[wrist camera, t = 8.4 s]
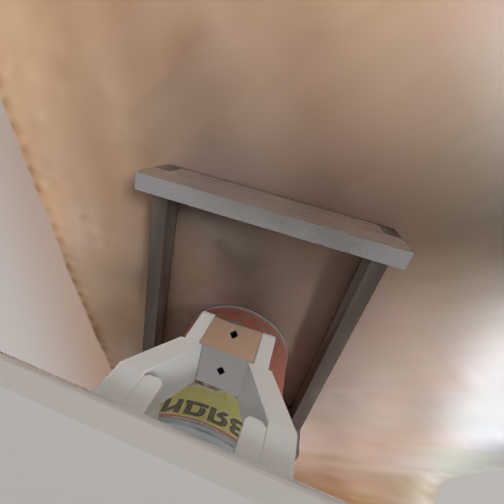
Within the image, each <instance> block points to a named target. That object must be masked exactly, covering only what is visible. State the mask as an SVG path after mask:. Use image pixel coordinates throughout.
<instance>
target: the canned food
mask: <svg viewBox="0 0 504 504" xmlns="http://www.w3.org/2000/svg"><path fill="white" fill-rule="evenodd" d="M203 311H207V312H210V313H212V314H215V315H218V316H220V317H223V318H225V319H228V320H230V321H233V322H235V323H238V324H241V325H244V326H246V327H249V328H252V329H255V330H257V331H260V332H263V333H266V334H269V335H272V336H275V338H276V340H275V344H274V348H273V352H272V356H271V360H270V364H269V368H268V370H269V371H272V373H273V376H274V378H275V381H276V383H277V386H278V388H279V390H280V393H281V395H282V396H283V388H284V379H285V371H286V366H287V362H288V349H287V345H286V343H285V340H284V338H283V336H282V335H281V333H280V332H279V330H278V329H277V328H276V327H275V326H274V325H273V324H272V323H271V322H270V321H269V320H267V319H266V318H265V317H263V316H261V315H260V314H258V313H256V312H254V311H252V310H249V309H246V308H243V307H239V306H231V305H220V306H214V307H210V308H207V309H205V310H203ZM203 311H201V312H200V313H198V314H197V315H196V316H195V317H194V318H193V319H192V320H191V322H190V323H189V325H188V327H187V329H186V331H185V333H184V334H183V336H182V337H184V338H185V336H186V335H187V333H188V332H189V330H190V329H191V328H192V326H193V325H194V323H195V322H196V320H197V319H198V317H199V316H200V315H201V313H202V312H203ZM237 397H238V396H235V395H233V394H231V393H228V392H226V391H224V390H222V389H219V388H217V387H215V386H212V385H209V384H207V383H204V382H201V381H198V380H196V379H195V381H194V382H192V383H191V384H189V385H188V386H186V387H185V388H183V389H182V390H180V391H179V392H177V393H176V394H174V395H173V396H171V397H170V398H168V399H167V400H166V401H164V402H163V403H161V404H160V408H159V416H158V420H159V421H161V422H163V423H166V424H168V425H170V426H173V427H175V428H177V429H179V430H182V431H184V432H186V433H189V434H191V435H193V436H196V437H198V438H200V439H202V440H205V441H207V442H209V443H212V444H214V445H216V446H219V447H221V448H223V449H225V450H228V451H230V452H233V449H234V447H235V444H236V441H237V439H238V436H239V433H240V431H241V428H242V425H243V424H242V419H241V414H240V409H239V403H238V398H237Z"/></svg>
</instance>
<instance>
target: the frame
mask: <svg viewBox="0 0 504 504" xmlns="http://www.w3.org/2000/svg"><path fill="white" fill-rule="evenodd" d="M135 189H136V190H139V191H142V192H146V193H149V194H152V195H153V208H152V223H151V237H150V252H149V266H148V281H147V296H146V310H145V325H144V339H143V352H144V351H146V350H149V349H151V348H154V347H156V346H159V345H161V344H162V342H163V333H164V324H165V315H166V306H167V297H168V289H169V280H170V271H171V262H172V253H173V244H174V235H175V226H176V217H177V208H178V202H179V203H182V204H186V205H189V206H192V207H196V208H199V209H202V210H206V211H209V212H212V213H216V214H219V215H222V216H226V217H229V218H232V219H236V220H239V221H242V222H246V223H249V224H252V225H256V226H259V227H262V228H266V229H269V230H272V231H276V232H279V233H282V234H286V235H289V236H292V237H296V238H299V239H302V240H306V241H309V242H312V243H316V244H319V245H322V246H326V247H329V248H332V249H336V250H339V251H342V252H346V253H349V254H352V255H356V256H359V257H362V260H361V262H360V264H359V266H358V269H357V271H356V273H355V275H354V277H353V279H352V281H351V283H350V285H349V287H348V289H347V292H346V294H345V296H344V298H343V300H342V302H341V304H340V306H339V308H338V310H337V312H336V315H335V317H334V319H333V321H332V323H331V325H330V327H329V329H328V331H327V333H326V335H325V338H324V340H323V342H322V344H321V346H320V348H319V350H318V352H317V354H316V356H315V358H314V361H313V363H312V365H311V367H310V369H309V371H308V373H307V375H306V377H305V379H304V381H303V384H302V386H301V388H300V390H299V392H298V394H297V396H296V398H295V400H294V402H293V404H292V407H291V409H290V408H287V407H286V408H287V410H288V413H289V415H290V418H291V420H292V422H293V425H294V427H295V430H296V432H297V446H296V456H295V461H296V459H297V458H298V456H299V439H300V429H301V427H302V425H303V423H304V421H305V420H306V418H307V416H308V414H309V412H310V410H311V408H312V406H313V405H314V403H315V401H316V399H317V397H318V395H319V393H320V391H321V390H322V388H323V386H324V384H325V382H326V380H327V378H328V376H329V375H330V373H331V371H332V369H333V367H334V365H335V363H336V362H337V360H338V358H339V356H340V354H341V352H342V350H343V348H344V347H345V345H346V343H347V341H348V339H349V337H350V335H351V333H352V332H353V330H354V328H355V326H356V324H357V322H358V320H359V318H360V317H361V315H362V313H363V311H364V309H365V307H366V305H367V304H368V302H369V300H370V298H371V296H372V294H373V292H374V290H375V289H376V287H377V285H378V283H379V281H380V279H381V277H382V275H383V274H384V272H385V270H386V268H387V266H388V265H389V266H392V267H395V268H399V269H402V270H405V269H406V267H407V266H408V264H409V262H410V260H411V259H412V257H413V255H414V253H413V251H412V250H411V249H410V248H409V247H408V245H407V244H406V243H405V242H404V241H403V239H402V238H401V237H400V236H399V235H398V233H397V232H396V231H395V230H394V229H391V228H388V227H384V226H381V225H377V224H374V223H370V222H367V221H363V220H360V219H356V218H353V217H349V216H346V215H343V214H339V213H336V212H332V211H329V210H325V209H322V208H318V207H315V206H311V205H308V204H304V203H301V202H297V201H294V200H290V199H287V198H283V197H280V196H277V195H273V194H270V193H266V192H263V191H259V190H256V189H252V188H249V187H245V186H242V185H238V184H235V183H231V182H228V181H224V180H221V179H218V178H214V177H211V176H207V175H204V174H200V173H197V172H193V171H190V170H186V169H183V168H179V167H176V166H172V165H169V164H168V165H163V166H158V167H154V168H149V169H145V170H140V171H136V172H135Z"/></svg>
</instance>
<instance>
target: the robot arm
mask: <svg viewBox="0 0 504 504" xmlns="http://www.w3.org/2000/svg"><path fill="white" fill-rule="evenodd" d="M275 340H276V338H275V336H272V335H269V334H266V333H263V332H260V331H257V330H255V329H252V328H249V327H246V326H244V325H241V324H238V323H235V322H233V321H230V320H228V319H225V318H223V317H220V316H218V315H215V314H212V313H210V312H207V311H203V312H202V313H201V315H200V316H199V317H198V319H197V320H196V322H195V323H194V325H193V326H192V328H191V329H190V330H189V332H188V333H187V335H186V336H185V338H184V337H182V336H180V337H178V338H176V339H173V340H171V341H168V342H166V343H163V344H161V345H159V346H156V347H154V348H151V349H149V350H146V351H144V352H142V353H139V354H137V355H134V356H132V357H129V358H127V359H125V360H122V361H120V362H119V363H118V364H117V366H116V367H115V368H114V369H113V370H112V371H111V372H110V373H109V374H108V375H107V377H106V378H105V379H104V380H103V381H102V382H101V383H100V384H99V385H98V386H97V388H96V389H95V390H94V391H93V392H92V391H90V390H87V389H85V388H83V387H81V386H78V385H76V384H74V383H71V382H69V381H67V380H65V379H62V378H60V377H58V376H55V375H53V374H51V373H49V372H46V371H44V370H42V369H39V368H37V367H35V366H33V365H30V364H28V363H26V362H23V361H21V360H19V359H16V358H14V357H12V356H10V355H7V354H5V353H3V352H0V504H350V503H347V502H345V501H343V500H340V499H338V498H336V497H334V496H331V495H329V494H327V493H324V492H322V491H320V490H318V489H315V488H313V487H311V486H308V485H306V484H304V483H301V482H299V481H297V480H295V479H293V476H294V466H295V456H296V446H297V432H296V430H295V427H294V425H293V422H292V420H291V418H290V415H289V413H288V410H287V408H286V405H285V403H284V400H283V398H282V395H281V393H280V390H279V388H278V386H277V383H276V381H275V378H274V376H273V373H272V371H269V370H268V368H269V364H270V360H271V356H272V352H273V348H274V344H275ZM195 379H196V380H198V381H201V382H204V383H207V384H209V385H212V386H215V387H217V388H219V389H222V390H224V391H226V392H228V393H231V394H233V395H235V396H238V397H237V398H238V403H239V409H240V414H241V419H242V424H243V425H242V428H241V431H240V433H239V436H238V439H237V441H236V444H235V447H234V449H233V452H230V451H228V450H225V449H223V448H221V447H219V446H216V445H214V444H212V443H209V442H207V441H205V440H202V439H200V438H198V437H196V436H193V435H191V434H189V433H186V432H184V431H182V430H179V429H177V428H175V427H173V426H170V425H168V424H166V423H163V422H161V421H159V420H158V416H159V408H160V404H161V403H163V402H164V401H166V400H167V399H168V398H170V397H171V396H173V395H174V394H176V393H177V392H179V391H180V390H182V389H183V388H185V387H186V386H188V385H189V384H191V383H192V382H194V381H195Z"/></svg>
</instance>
